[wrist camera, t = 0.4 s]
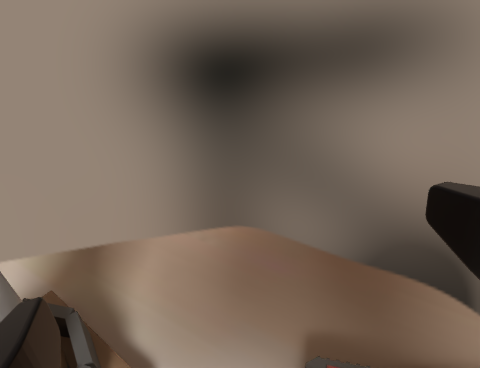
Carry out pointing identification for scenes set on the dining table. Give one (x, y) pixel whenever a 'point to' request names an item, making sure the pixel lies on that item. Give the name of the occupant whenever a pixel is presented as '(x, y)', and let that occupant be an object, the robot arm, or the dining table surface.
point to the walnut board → (108, 359)
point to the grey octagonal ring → (75, 335)
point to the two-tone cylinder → (6, 299)
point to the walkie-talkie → (330, 364)
